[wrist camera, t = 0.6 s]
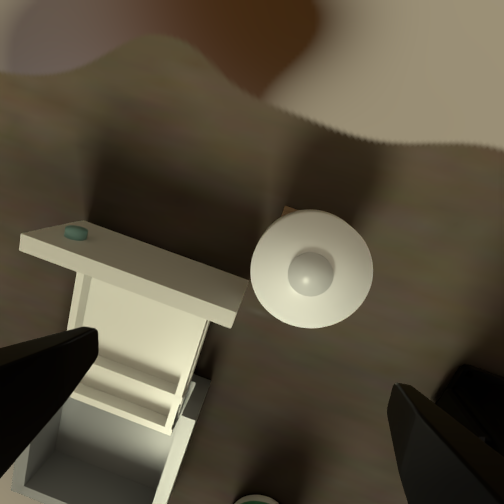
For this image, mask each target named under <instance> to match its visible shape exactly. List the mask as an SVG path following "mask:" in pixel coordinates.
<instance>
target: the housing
mask: <svg viewBox="0 0 504 504" xmlns="http://www.w3.org/2000/svg"><path fill="white" fill-rule="evenodd" d="M210 383H211V380H208V379H206V378H203V377H200V376H198V375H195V374H193V376H192V379H191V382H190V386H189V389H188V392H187V395H186V398H185V401H184V404H183V407H182V410H181V413H180V416H179V419H178V421H177V423H176V425H175V427H174V430H173V432H172V434H171V436H169V435H166V434H164V433H161V432H159V431H156V430H154V429H151V428H148V427H146V426H143V425H141V424H138V423H135V422H133V421H130V420H128V419H125V418H123V417H120V416H117V415H115V414H112V413H110V412H107V411H104V410H102V409H99V408H97V407H94V406H91V405H89V404H86V403H84V402H81V401H79V400H76V399H73V398H71V397H69V398H68V399H67V401H66V402H65V403H64V405H63V406H62V407H61V408H60V409H59V411H58V412H57V413H56V414H55V415H54V416H53V418H52V419H51V420H50V421H49V422H48V423H47V425H46V426H45V427H44V428H43V429H42V430H41V432H40V433H39V434H38V435H37V436H36V437H35V439H34V440H33V441H32V442H31V443H30V444H29V446H28V447H27V448H26V449H25V450H24V451H23V453H22V454H21V455H20V456H19V457H18V458H17V460H16V461H15V464H14V472H13V479H12V487H11V490H12V491H14V492H17V493H19V494H22V495H24V496H27V497H29V498H32V499H34V500H37V501H39V502H42V503H44V504H168V502H169V499H170V496H171V494H172V491H173V488H174V485H175V482H176V479H177V477H178V474H179V471H180V468H181V465H182V462H183V460H184V457H185V454H186V451H187V448H188V445H189V442H190V440H191V437H192V434H193V431H194V428H195V425H196V423H197V420H198V417H199V414H200V411H201V408H202V405H203V403H204V400H205V397H206V394H207V391H208V388H209V386H210Z"/></svg>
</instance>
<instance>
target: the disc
mask: <svg viewBox="0 0 504 504" xmlns="http://www.w3.org/2000/svg"><path fill="white" fill-rule="evenodd" d="M250 274H251V282H252V286H253V289H254V292H255V294H256V296H257V298H258V300H259V301H260V303H261V304H262V305H263V307H264V308H265V309H266V310H267V311H268V312H269V313H270V314H272V315H273V316H274V317H276V318H277V319H279V320H281V321H283V322H285V323H287V324H290V325H293V326H296V327H302V328H321V327H326V326H330V325H333V324H336V323H338V322H340V321H342V320H344V319H345V318H347V317H348V316H350V315H351V314H352V313H354V312H355V311H356V310H357V309H358V308H359V306H360V305H361V304H362V303H363V301H364V300H365V298H366V296H367V294H368V292H369V289H370V287H371V283H372V278H373V263H372V258H371V254H370V251H369V249H368V247H367V245H366V243H365V241H364V240H363V238H362V237H361V236H360V235H359V233H358V232H357V231H356V230H355V229H354V228H352V227H351V226H350V225H349V224H348V223H346V222H345V221H344V220H343V219H341V218H339V217H338V216H336V215H334V214H331V213H329V212H326V211H322V210H315V209H305V210H298V211H294V212H291V213H288V214H286V215H284V216H282V217H280V218H279V219H277V220H276V221H274V222H273V223H272V224H271V225H270V226H269V227H268V228H267V229H266V231H265V232H264V233H263V235H262V236H261V238H260V240H259V242H258V244H257V246H256V248H255V251H254V253H253V257H252V260H251V268H250Z"/></svg>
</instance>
